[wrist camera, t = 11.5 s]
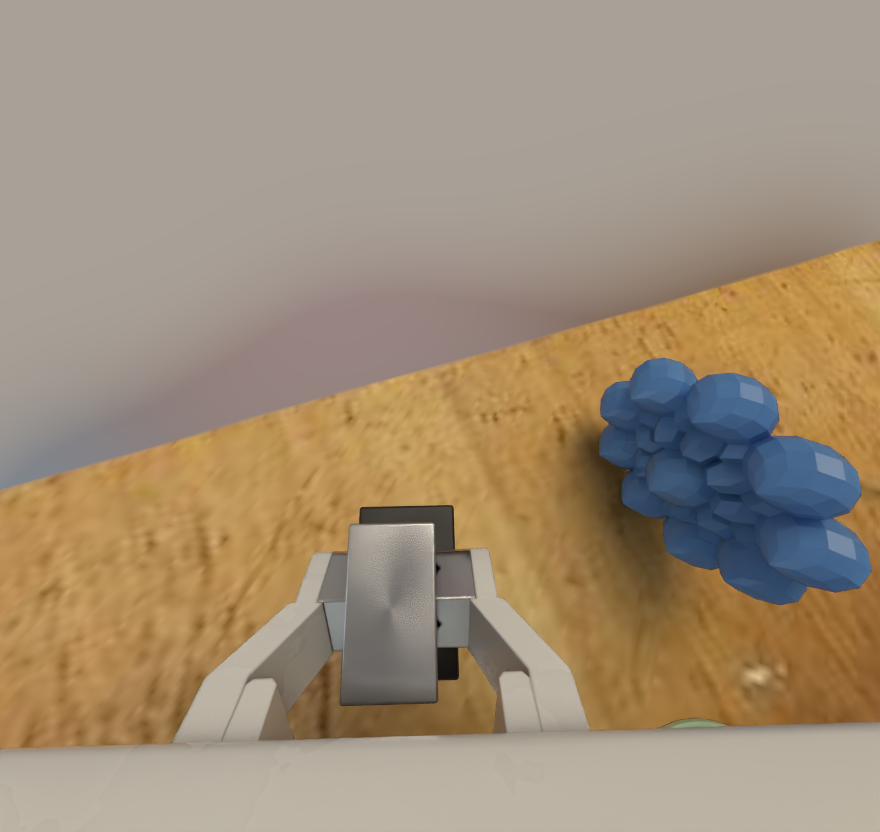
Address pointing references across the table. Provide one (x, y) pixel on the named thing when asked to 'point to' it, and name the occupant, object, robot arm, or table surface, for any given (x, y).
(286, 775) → the robot arm
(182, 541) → the table surface
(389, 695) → the silver and black block
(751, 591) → the grapes
